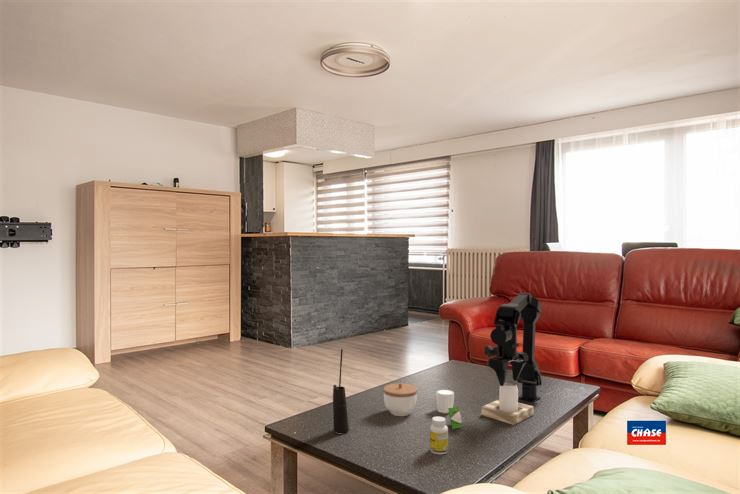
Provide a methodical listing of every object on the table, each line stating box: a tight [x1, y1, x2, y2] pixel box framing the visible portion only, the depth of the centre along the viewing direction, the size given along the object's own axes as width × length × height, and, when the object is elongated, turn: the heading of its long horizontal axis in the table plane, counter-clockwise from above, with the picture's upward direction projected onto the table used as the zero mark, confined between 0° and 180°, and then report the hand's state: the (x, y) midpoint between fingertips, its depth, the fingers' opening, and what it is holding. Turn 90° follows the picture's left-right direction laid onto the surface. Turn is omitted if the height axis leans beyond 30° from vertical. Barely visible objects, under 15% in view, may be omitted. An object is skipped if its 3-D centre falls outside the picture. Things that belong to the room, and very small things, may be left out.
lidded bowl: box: [382, 382, 418, 417], centre depth 171 cm, size 13×13×11 cm
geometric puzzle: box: [444, 406, 467, 430], centre depth 158 cm, size 7×7×8 cm
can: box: [498, 380, 519, 413], centre depth 167 cm, size 6×6×12 cm
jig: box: [481, 399, 535, 426], centre depth 169 cm, size 14×13×3 cm
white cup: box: [435, 389, 455, 414], centre depth 173 cm, size 7×7×7 cm
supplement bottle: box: [429, 416, 449, 455], centre depth 139 cm, size 5×5×10 cm
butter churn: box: [332, 348, 350, 434], centre depth 155 cm, size 9×10×28 cm
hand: (508, 383), depth 167 cm, fingers open, 9 cm apart
